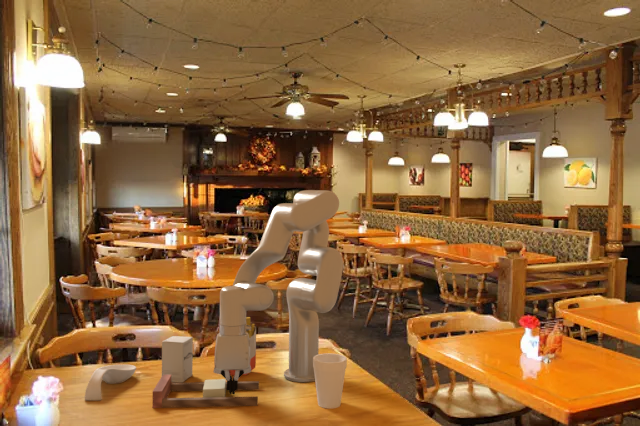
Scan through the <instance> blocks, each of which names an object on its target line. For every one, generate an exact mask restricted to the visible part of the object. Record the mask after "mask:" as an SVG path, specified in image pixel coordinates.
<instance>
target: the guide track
mask: <svg viewBox="0 0 640 426" xmlns="http://www.w3.org/2000/svg"><path fill="white" fill-rule="evenodd" d="M204 382H205V381H202V382H200V381H199V382H198V381H197V382H183V383H180V382H171V375H162V374H161V377H160V379H159V380H158V382H157V384H156V385H155V387H154V388H153V390H152V409H156V408H157V409H159V408H198V407H199V408H201V407H202V408H203V407H204V408H206V407H207V408H208V407H210V408H211V407H213V408H214V407H250V406H251V407H253V406H254V407H255V406H257V407H258V404H259V403H258V402H259V398H258V397H259V396H225V397H204V398H203V397H169V395H170V393H171V392H197V391H199V392H201V391H202V392H203V387H204ZM248 390H249V391H251V390H252V391H253V390H255V391H256V390H258V391H259V390H260V381H259V380H258V381H255V380H253V381H238V390H237V391H248ZM226 391H227V381H226Z"/></svg>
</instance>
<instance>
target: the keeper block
mask: <svg viewBox="0 0 640 426" xmlns="http://www.w3.org/2000/svg"><path fill="white" fill-rule="evenodd" d="M203 382H204V387H203V391H202V398H204V397H226V392H227V390H226V382H227V380H226V379H225V378H218V379H217V378H216V379H205V380H204V381H203Z"/></svg>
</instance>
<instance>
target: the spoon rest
mask: <svg viewBox="0 0 640 426" xmlns="http://www.w3.org/2000/svg"><path fill="white" fill-rule="evenodd" d="M136 370H137V366H135V365H132V364H109V365H105V366H100V367H98V368H96V369H95V370H94V371H93V372H92V374H91V376H90V379H89V380H88V383H87V386H86V389H85V392H84V393H85V394H84V400H85V401H93V402H94V401H102V400H103V399H102V381H103V382H105V383H106V384H109V385H110V384H111V385H113V384H121V383H123V382H125V381H127V380H128V379H130V378H131V377H132V376H133V375H134V373H135V372H136Z"/></svg>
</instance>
